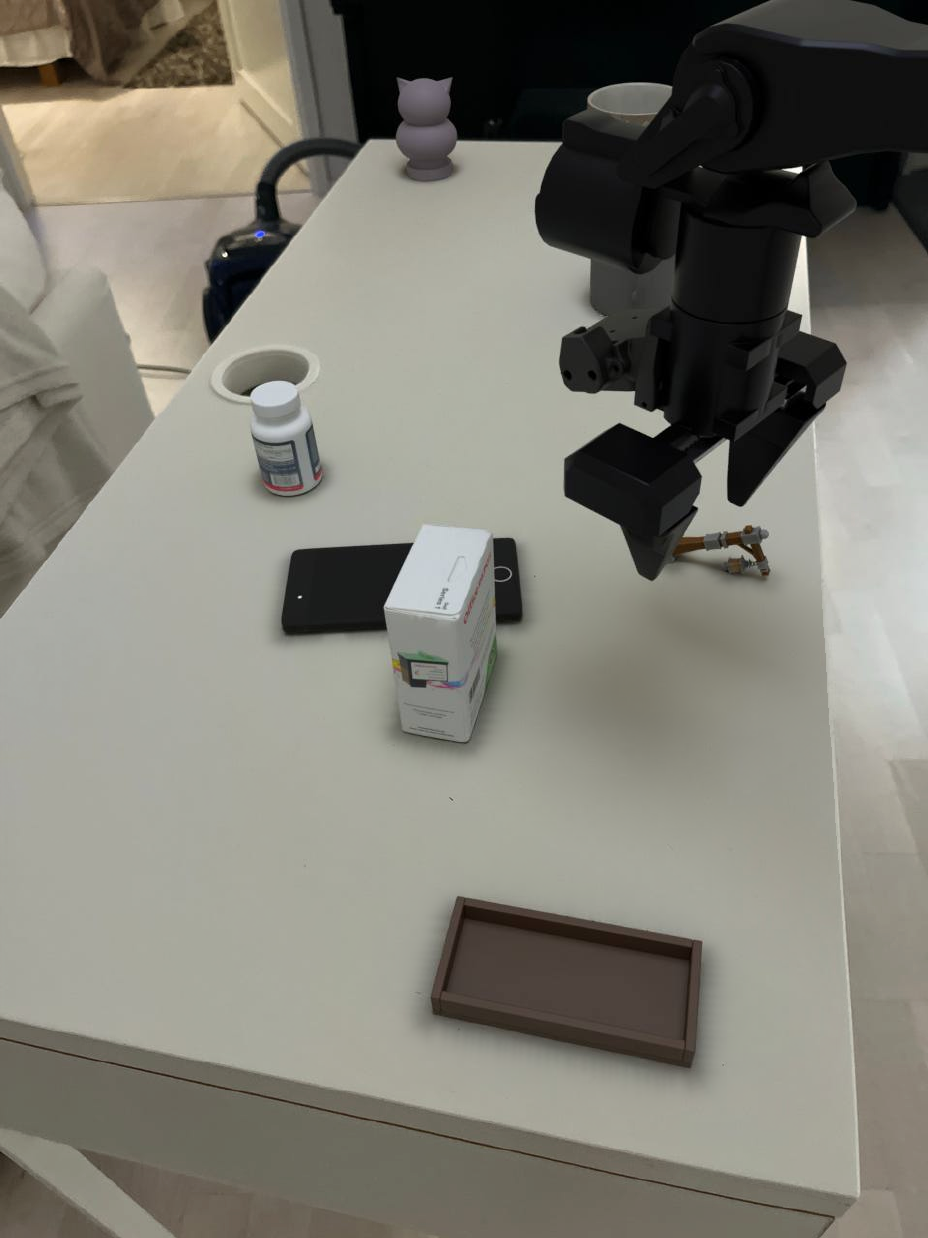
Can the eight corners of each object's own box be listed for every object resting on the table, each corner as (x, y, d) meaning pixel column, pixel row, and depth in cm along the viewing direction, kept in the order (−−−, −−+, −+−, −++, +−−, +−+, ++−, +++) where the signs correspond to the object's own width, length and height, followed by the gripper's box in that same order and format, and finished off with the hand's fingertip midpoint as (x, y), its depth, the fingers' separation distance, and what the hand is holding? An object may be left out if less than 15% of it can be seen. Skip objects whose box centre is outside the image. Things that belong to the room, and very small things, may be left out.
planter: (578, 167, 137) (580, 85, 130) (668, 160, 137) (676, 78, 130) (592, 203, 128) (595, 117, 121) (688, 195, 128) (698, 110, 121)
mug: (586, 283, 112) (590, 175, 103) (667, 280, 111) (678, 171, 103) (595, 343, 102) (600, 229, 94) (684, 340, 102) (697, 225, 93)
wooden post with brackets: (778, 580, 74) (762, 531, 71) (678, 587, 78) (660, 542, 76) (783, 565, 75) (768, 517, 73) (684, 573, 80) (667, 528, 77)
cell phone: (523, 622, 73) (523, 612, 72) (281, 635, 73) (279, 626, 73) (515, 545, 79) (515, 536, 79) (293, 557, 80) (291, 548, 79)
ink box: (434, 643, 72) (421, 517, 64) (499, 654, 71) (495, 527, 63) (398, 732, 66) (379, 606, 58) (469, 745, 65) (460, 618, 57)
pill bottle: (298, 455, 90) (281, 369, 84) (334, 477, 87) (319, 390, 81) (251, 481, 88) (230, 394, 82) (286, 505, 85) (267, 417, 79)
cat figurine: (392, 181, 137) (383, 87, 128) (407, 161, 142) (399, 69, 134) (452, 184, 135) (446, 88, 127) (464, 162, 140) (460, 70, 132)
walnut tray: (698, 958, 54) (702, 940, 52) (690, 1068, 50) (695, 1052, 48) (458, 913, 57) (456, 895, 55) (432, 1014, 52) (430, 997, 51)
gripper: (702, 198, 58) (674, 424, 68) (482, 317, 48) (491, 557, 59) (880, 249, 52) (819, 488, 63) (668, 395, 43) (640, 645, 54)
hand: (693, 538), depth 60 cm, fingers open, 9 cm apart
